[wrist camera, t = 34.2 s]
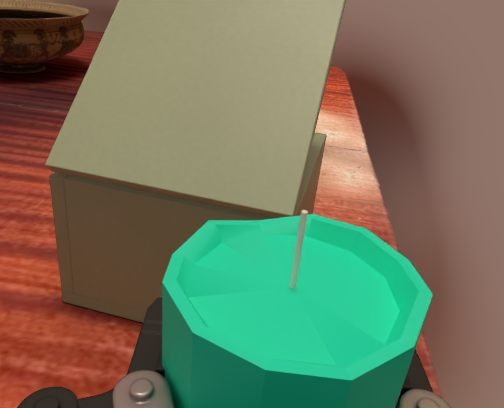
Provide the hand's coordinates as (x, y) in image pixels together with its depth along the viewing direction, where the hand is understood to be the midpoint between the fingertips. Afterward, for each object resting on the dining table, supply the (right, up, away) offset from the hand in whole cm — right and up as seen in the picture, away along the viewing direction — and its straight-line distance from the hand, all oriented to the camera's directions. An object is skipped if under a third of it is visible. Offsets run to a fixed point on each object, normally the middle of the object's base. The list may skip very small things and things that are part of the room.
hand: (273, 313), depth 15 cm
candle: (-1, -8, +1) cm, 8 cm away
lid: (-3, +11, +13) cm, 18 cm away
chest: (-4, -1, +21) cm, 22 cm away
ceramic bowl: (-41, +26, +67) cm, 82 cm away
